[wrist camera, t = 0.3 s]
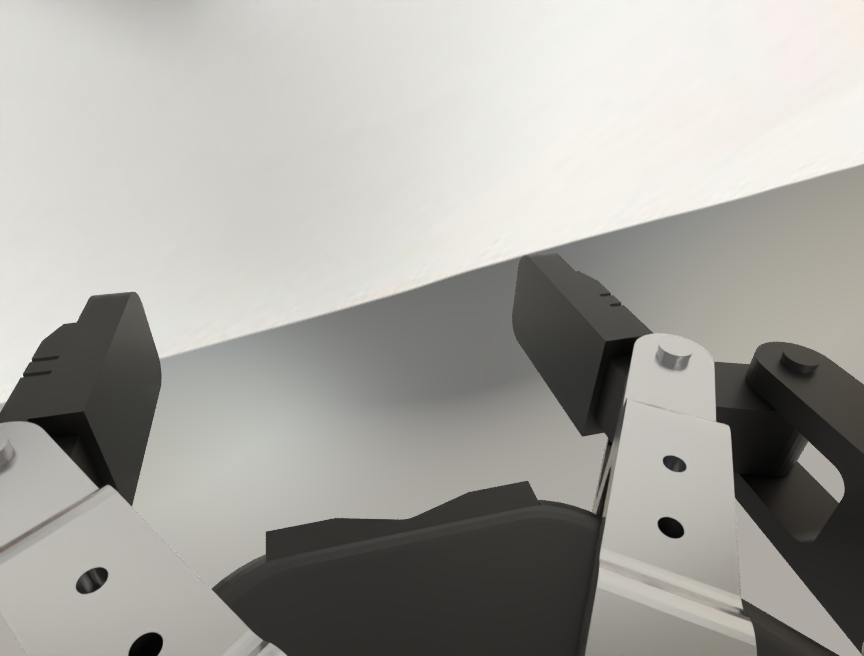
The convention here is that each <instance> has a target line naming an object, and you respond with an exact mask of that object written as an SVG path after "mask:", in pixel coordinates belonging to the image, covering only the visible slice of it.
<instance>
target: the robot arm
mask: <svg viewBox="0 0 864 656" xmlns="http://www.w3.org/2000/svg"><path fill="white" fill-rule="evenodd" d="M512 323H513V330H514V333H515V336H516V339H517V341H518V342H519V344H520V345H521V347H522V348H523V350H524V351H525V353H526V354H527V356H528V357H529V359H530V360H531V361H532V363H533V364H534V366H535V368H536V369H537V370H538V372H539V373H540V375H541V376H542V378H543V379H544V381H545V382H546V384H547V385H548V387H549V388H550V390H551V391H552V393H553V394H554V396H555V397H556V398H557V400H558V401H559V403H560V404H561V406H562V407H563V409H564V410H565V412H566V413H567V415H568V416H569V418H570V419H571V421H572V422H573V423H574V425H575V427H576V428H577V430H578V431H579V432H580V434H581V435H582V436H588V435H593V434H599V433H605V434H606V435H607V437H608V440H607V443H606V447H605V450H604V455H603V460H602V465H601V470H600V475H599V480H598V485H597V489H596V494H595V499H594V504H593V509H592V512H590V511H587V510H584V509H581V508H579V507H575V506H572V505H568V504H564V503H559V502H552V501H545V500H537V498H536V496H535V494H534V492H533V490H532V488H531V486H530V484H529V482H528V481H524V482H519V483H514V484H509V485H504V486H498V487H494V488H489V489H483V490H478V491H473V492H468V493H466V494H464V495H462V496H460V497H457V498H455V499H453V500H451V501H448V502H446V503H444V504H442V505H440V506H438V507H435V508H433V509H431V510H429V511H426V512H424V513H422V514H420V515H418V516H415V517H413V518H410V519H404V520H391V519H348V518H335V519H329V520H324V521H319V522H314V523H309V524H304V525H299V526H294V527H288V528H283V529H278V530H273V531H267V532H266V555H263V556H261V557H259V558H257V559H254V560H253V561H251V562H249V563H247V564H246V565H244V566H242V567H240V568H238V569H237V570H235V571H234V572H233V573H231V574H230V575H228V576H227V577H225V578H224V579H223V580H221V581H220V582H219V583H218V584H217V585H215V586H214V587H213V588H212V589H211V588H210V587H209V586H208V585H207V584H206V583H205V582H204V581H203V580H202V579H201V578H200V577H199V576H198V575H197V574H196V573H195V572H194V571H193V570H192V569H191V568H190V566H188V564H187V563H186V562H185V561H184V560H183V559H182V558H181V557H180V556H179V555H178V554H177V553H176V552H175V551H174V550H173V549H172V548H171V547H170V546H169V545H168V544H167V543H166V542H165V541H164V540H163V539H162V538H161V536H159V534H158V533H157V532H155V530H154V529H153V528H152V527H151V526H150V525H149V524H148V523H147V522H146V521H145V520H144V519H143V518H142V517H141V516H140V515H139V514H138V513H137V512H136V511H135V510H134V509H133V507H132V504H133V500H134V496H135V492H136V487H137V483H138V479H139V475H140V471H141V466H142V462H143V458H144V454H145V450H146V446H147V442H148V437H149V433H150V429H151V425H152V421H153V417H154V412H155V409H156V404H157V400H158V395H159V392H160V388H161V366H160V361H159V356H158V353H157V350H156V347H155V343H154V340H153V337H152V334H151V331H150V328H149V324H148V321H147V318H146V315H145V312H144V308H143V305H142V302H141V300H140V298H139V296H138V294H137V293H136V292H126V293H116V294H105V295H94V296H91V297H90V298H89V300H88V302H87V304H86V306H85V308H84V310H83V311H82V313H81V315H80V317H79V319H78V321H77V323H69V324H63V325H62V326H61V327H59V328H58V329H57V330H56V331H54V332H53V333H52V334H50V335H49V336H48V337H47V338H45V339H44V340H43V341H42V342H41V344H40V346H39V347H38V349H37V351H36V353H35V354H34V356H33V358H32V362H30V363H29V365H28V366H27V368H26V370H25V371H24V373H23V376H24V377H23V378H20V380H19V382H18V383H17V385H16V387H15V388H14V390H13V392H12V394H11V395H10V397H9V399H8V400H7V402H6V404H5V406H4V407H3V409H2V411H1V412H0V613H1V615H2V617H3V618H4V620H5V621H6V623H7V625H8V626H9V628H10V629H11V631H12V633H13V634H14V636H15V638H16V639H17V641H18V642H19V644H20V646H21V647H22V649H23V651H24V652H25V654H26V655H27V656H839V655H837V654H836V653H834V652H832V651H830V650H829V649H827V648H825V647H824V646H822V645H820V644H819V643H817V642H815V641H813V640H812V639H810V638H808V637H807V636H805V635H803V634H801V633H800V632H798V631H796V630H795V629H793V628H791V627H789V626H788V625H786V624H784V623H783V622H781V621H779V620H777V619H776V618H774V617H772V616H771V615H769V614H767V613H766V612H764V611H762V610H760V609H759V608H757V607H755V606H753V605H752V604H750V603H749V602H747V601H745V600H743V599H742V598H741V589H740V573H739V558H738V542H737V525H736V509H735V498H736V499H737V501H738V502H739V503H740V504H741V506H742V507H743V508H744V509H745V510H746V512H747V513H748V514H749V516H750V517H751V518H752V519H753V521H754V522H755V523H756V524H757V525H758V527H759V528H760V529H761V530H762V532H763V533H764V534H765V535H766V537H767V538H768V539H769V540H770V542H771V543H772V544H773V545H774V546H775V548H776V549H777V550H778V551H779V553H780V554H781V555H782V556H783V558H784V559H785V560H786V561H787V562H788V564H789V565H790V566H791V568H792V569H793V570H794V571H795V572H796V574H797V575H798V576H799V577H800V579H801V580H802V581H803V582H804V584H805V585H806V586H807V587H808V589H809V590H810V591H811V592H812V593H813V595H814V596H815V597H816V598H817V600H818V601H819V602H820V603H821V605H822V606H823V607H824V608H825V609H826V611H827V612H828V613H829V614H830V615H831V617H832V618H833V619H834V621H835V622H836V623H837V624H838V625H839V627H840V628H841V629H842V630H843V632H844V633H845V634H846V635H847V637H848V638H849V639H850V640H851V642H852V643H853V644H854V645H855V646H856V648H857V649H858V650H859V651H860V653H861V654H862V656H864V385H863V384H862V383H861V382H859V381H858V380H857V379H855V378H854V377H853V376H851V375H850V374H849V373H847V372H846V371H845V370H843V369H842V368H841V367H839V366H838V365H837V364H835V363H834V362H833V361H831V360H830V359H828V358H827V357H826V356H824V355H822V354H820V353H818V352H816V351H814V350H812V349H809V348H806V347H803V346H800V345H796V344H792V343H786V342H769V343H765V344H762V345H760V346H759V347H758V348H757V349H756V352H755V354H754V356H753V359H752V361H751V363H750V364H737V363H724V362H714V360H713V358H712V356H711V355H710V354H709V352H707V350H705V349H704V348H703V347H702V346H700V345H698V344H696V343H695V342H693V341H691V340H689V339H686V338H683V337H680V336H676V335H670V334H663V333H656V334H655V333H653V332H651V331H650V330H649V329H648V328H647V327H646V326H645V325H644V324H643V323H642V322H641V321H640V320H639V319H638V318H637V317H636V316H635V315H633V314H632V313H631V312H630V311H629V310H628V309H627V308H626V307H625V306H624V305H623V306H621V302H620V301H618V299H617V298H615V297H614V296H611V294H610V292H609V291H608V290H607V289H606V288H605V287H604V286H603V285H602V284H600V283H599V282H598V281H597V280H595V279H593V278H591V277H589V276H587V275H585V274H583V273H581V272H579V271H574V269H572V267H571V266H570V265H569V264H567V263H566V262H565V261H564V260H563V259H562V258H561V257H560V256H559V255H558V254H557V253H546V254H536V255H525V256H523V257H522V258H521V260H520V263H519V267H518V275H517V283H516V290H515V298H514V306H513V314H512ZM808 441H809V442H810V443H811V444H812V445H813V446H814V447H815V448H816V449H817V450H819V451H820V452H821V453H822V454H823V455H824V456H825V457H826V458H827V459H828V460H829V461H830V462H831V463H832V464H833V465H834V466H835V467H836V468H837V469H838V471H839V472H840V474H841V476H842V478H843V481H844V486H845V493H844V496H843V498H842V500H841V501H840V503H838V502H837V501H836V500H835V499H834V498H833V497H832V496H831V495H830V494H829V493H828V492H827V491H826V490H825V489H824V488H823V487H822V486H821V485H820V484H819V483H818V482H817V481H816V480H815V479H814V478H813V477H812V476H811V475H810V474H809V473H808V472H807V471H806V470H805V469H804V468H803V467H802V466H801V465H800V464H799V463H798V462H797V460H798V458H799V456H800V455H801V453H802V451H803V450H804V448H805V446H806V444H807V442H808Z"/></svg>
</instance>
